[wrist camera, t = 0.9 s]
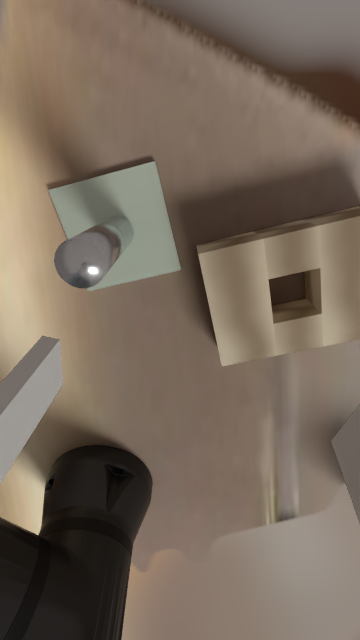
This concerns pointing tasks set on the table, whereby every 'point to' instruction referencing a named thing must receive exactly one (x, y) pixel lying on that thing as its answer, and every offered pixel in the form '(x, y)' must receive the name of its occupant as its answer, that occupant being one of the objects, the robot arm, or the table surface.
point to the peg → (93, 252)
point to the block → (275, 261)
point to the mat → (131, 203)
